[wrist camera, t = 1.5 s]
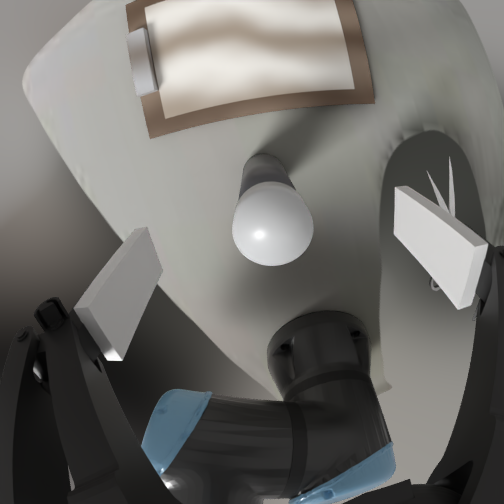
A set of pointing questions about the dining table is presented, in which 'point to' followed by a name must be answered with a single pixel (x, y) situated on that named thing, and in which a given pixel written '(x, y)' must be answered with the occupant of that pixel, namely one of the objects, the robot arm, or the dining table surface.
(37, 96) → the dining table surface
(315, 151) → the dining table surface
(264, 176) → the marker
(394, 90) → the dining table surface
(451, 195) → the scissors
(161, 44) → the clipboard
